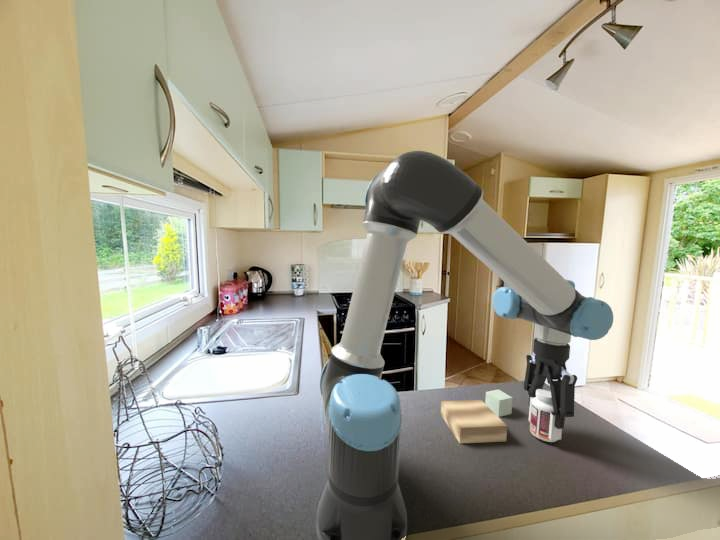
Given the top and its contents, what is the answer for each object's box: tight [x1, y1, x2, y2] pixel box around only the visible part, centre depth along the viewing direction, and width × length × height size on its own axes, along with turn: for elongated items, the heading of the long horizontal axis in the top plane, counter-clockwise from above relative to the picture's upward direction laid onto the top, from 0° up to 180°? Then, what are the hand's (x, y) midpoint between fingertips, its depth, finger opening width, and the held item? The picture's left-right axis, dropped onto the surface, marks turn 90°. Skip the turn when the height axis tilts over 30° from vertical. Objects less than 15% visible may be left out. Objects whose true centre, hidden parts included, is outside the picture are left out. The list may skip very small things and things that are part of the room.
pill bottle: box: [529, 388, 560, 443], centre depth 71 cm, size 6×6×11 cm
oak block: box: [440, 399, 508, 444], centre depth 75 cm, size 12×12×4 cm
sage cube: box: [484, 389, 513, 418], centre depth 83 cm, size 5×5×5 cm
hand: (543, 429), depth 71 cm, fingers closed on pill bottle, 6 cm apart
